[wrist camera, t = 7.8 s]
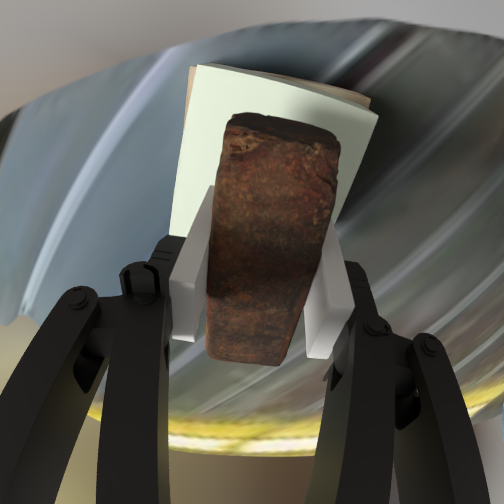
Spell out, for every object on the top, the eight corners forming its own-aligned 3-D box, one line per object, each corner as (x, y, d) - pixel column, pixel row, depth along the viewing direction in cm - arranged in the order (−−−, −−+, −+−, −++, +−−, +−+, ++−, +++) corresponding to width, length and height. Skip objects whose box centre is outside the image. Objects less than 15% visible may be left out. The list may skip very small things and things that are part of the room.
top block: (360, 104, 18) (378, 116, 15) (305, 247, 25) (308, 280, 22) (211, 62, 17) (197, 64, 14) (182, 217, 24) (167, 246, 21)
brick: (283, 303, 18) (284, 371, 14) (216, 294, 18) (203, 361, 14) (328, 121, 12) (355, 158, 8) (233, 106, 12) (214, 135, 8)
